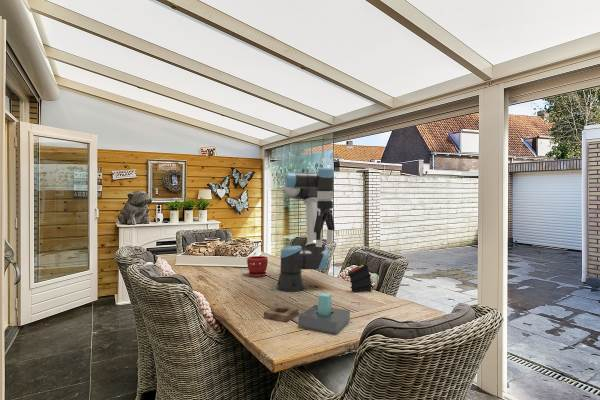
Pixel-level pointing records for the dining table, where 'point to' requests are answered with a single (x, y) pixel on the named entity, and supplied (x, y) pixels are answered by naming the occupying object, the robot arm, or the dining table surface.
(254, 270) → the plant pot
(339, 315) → the port
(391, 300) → the dining table surface
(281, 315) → the brown flat piece
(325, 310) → the peg
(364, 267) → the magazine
